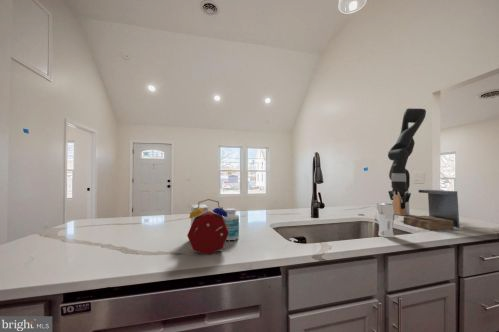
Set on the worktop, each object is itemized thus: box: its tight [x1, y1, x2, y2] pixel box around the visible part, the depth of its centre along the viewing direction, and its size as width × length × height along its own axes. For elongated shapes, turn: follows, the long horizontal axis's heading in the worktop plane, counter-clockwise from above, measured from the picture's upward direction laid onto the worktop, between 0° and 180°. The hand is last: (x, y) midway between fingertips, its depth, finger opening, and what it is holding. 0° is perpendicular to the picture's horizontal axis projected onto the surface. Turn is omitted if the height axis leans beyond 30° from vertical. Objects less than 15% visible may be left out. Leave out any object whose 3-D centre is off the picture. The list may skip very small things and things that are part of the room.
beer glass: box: [376, 202, 395, 239], centre depth 94 cm, size 7×7×15 cm
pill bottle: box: [223, 207, 240, 242], centre depth 91 cm, size 8×7×14 cm
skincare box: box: [190, 203, 209, 226], centre depth 88 cm, size 8×7×16 cm
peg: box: [394, 195, 406, 216], centre depth 124 cm, size 4×4×12 cm
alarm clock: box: [187, 198, 229, 255], centre depth 74 cm, size 15×9×20 cm, turn 98°
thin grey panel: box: [418, 189, 460, 229], centre depth 113 cm, size 14×8×20 cm, turn 12°
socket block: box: [403, 215, 455, 231], centre depth 111 cm, size 14×16×4 cm
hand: (399, 207), depth 124 cm, fingers closed on peg, 4 cm apart
